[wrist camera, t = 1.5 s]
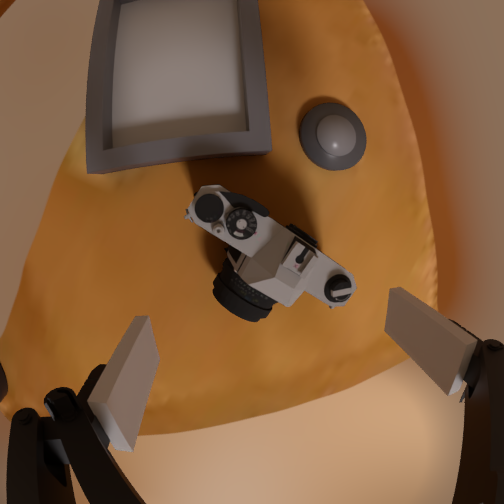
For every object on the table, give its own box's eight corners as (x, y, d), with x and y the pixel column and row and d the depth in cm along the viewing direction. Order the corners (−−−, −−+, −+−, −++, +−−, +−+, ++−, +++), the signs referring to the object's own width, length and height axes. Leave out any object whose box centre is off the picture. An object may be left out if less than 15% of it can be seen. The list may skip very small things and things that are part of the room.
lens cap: (300, 171, 23) (305, 170, 22) (295, 104, 22) (299, 100, 20) (362, 170, 24) (370, 170, 22) (356, 108, 22) (364, 105, 21)
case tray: (102, 174, 21) (87, 173, 18) (111, 2, 16) (102, -12, 13) (265, 154, 22) (272, 150, 19) (249, -17, 17) (253, -34, 15)
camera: (161, 253, 23) (141, 300, 15) (205, 172, 22) (207, 173, 13) (285, 314, 27) (318, 372, 18) (329, 246, 26) (383, 282, 17)
